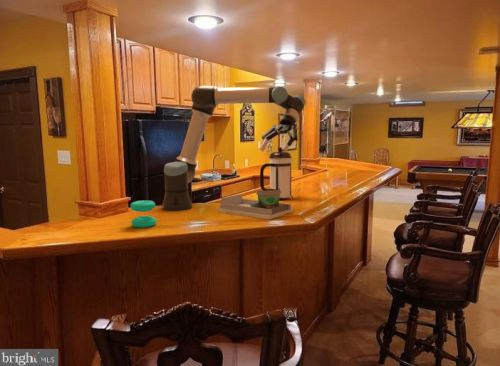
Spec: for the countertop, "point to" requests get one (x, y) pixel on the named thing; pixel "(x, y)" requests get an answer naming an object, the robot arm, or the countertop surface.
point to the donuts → (143, 220)
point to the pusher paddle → (254, 204)
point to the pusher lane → (251, 208)
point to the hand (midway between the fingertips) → (272, 150)
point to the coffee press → (279, 173)
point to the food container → (268, 198)
